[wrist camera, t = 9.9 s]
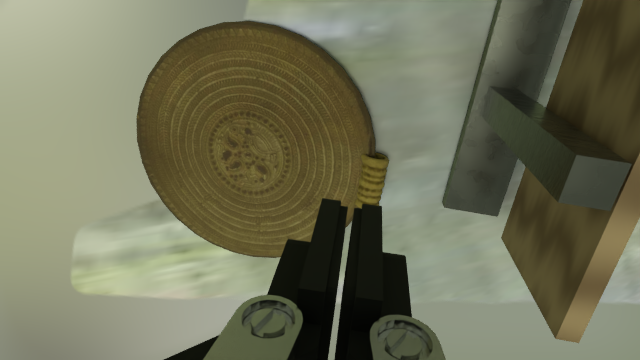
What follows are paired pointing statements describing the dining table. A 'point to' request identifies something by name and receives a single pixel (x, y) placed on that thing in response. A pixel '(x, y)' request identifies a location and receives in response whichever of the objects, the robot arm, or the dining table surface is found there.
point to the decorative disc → (255, 136)
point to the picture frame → (611, 131)
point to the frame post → (526, 122)
